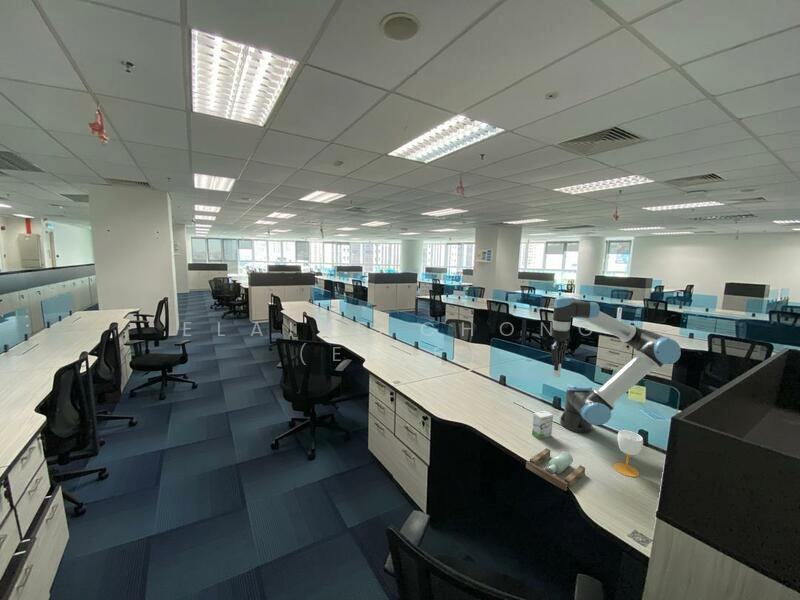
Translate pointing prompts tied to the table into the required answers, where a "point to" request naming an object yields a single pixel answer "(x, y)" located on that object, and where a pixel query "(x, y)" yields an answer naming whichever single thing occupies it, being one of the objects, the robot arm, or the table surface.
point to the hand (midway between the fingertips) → (556, 376)
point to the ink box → (542, 424)
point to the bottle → (559, 463)
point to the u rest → (548, 476)
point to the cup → (628, 451)
